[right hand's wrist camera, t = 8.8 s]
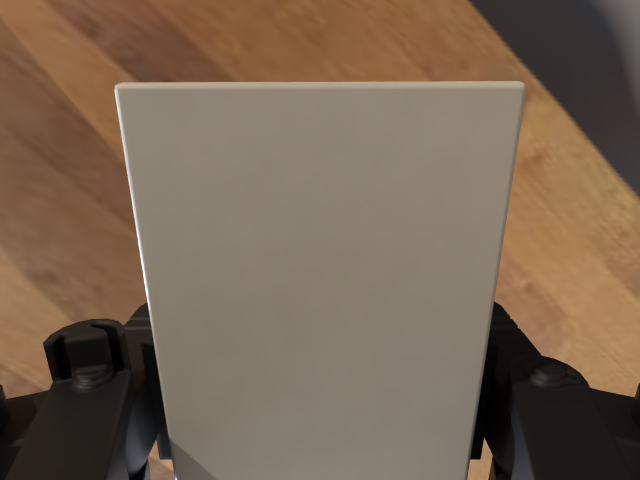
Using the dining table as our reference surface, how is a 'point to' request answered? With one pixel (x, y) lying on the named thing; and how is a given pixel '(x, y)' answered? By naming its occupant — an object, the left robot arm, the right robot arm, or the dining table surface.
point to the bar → (320, 269)
